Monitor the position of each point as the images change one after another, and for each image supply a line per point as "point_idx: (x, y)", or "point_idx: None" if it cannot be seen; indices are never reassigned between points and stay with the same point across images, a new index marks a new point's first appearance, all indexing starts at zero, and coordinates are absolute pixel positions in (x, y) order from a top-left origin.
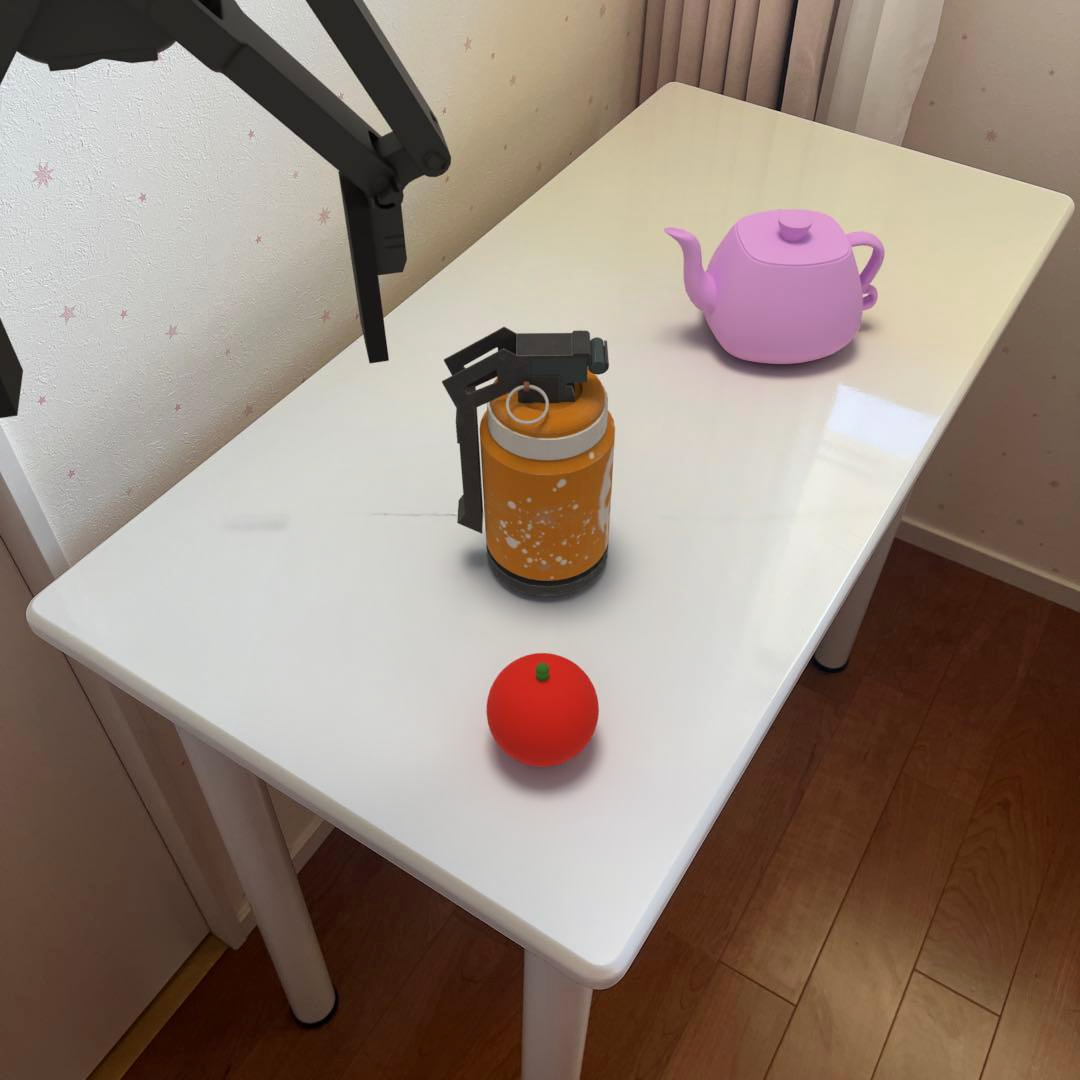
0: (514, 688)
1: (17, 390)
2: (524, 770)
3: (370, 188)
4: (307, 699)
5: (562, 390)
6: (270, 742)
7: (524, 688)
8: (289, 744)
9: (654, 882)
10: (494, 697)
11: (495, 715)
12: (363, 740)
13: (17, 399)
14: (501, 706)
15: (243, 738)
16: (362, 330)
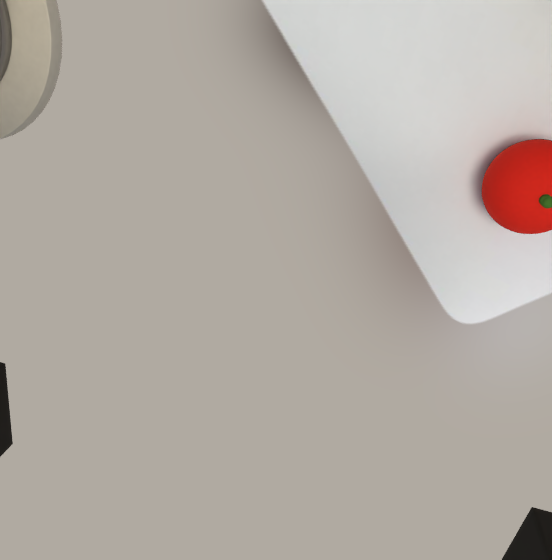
0: (516, 194)
1: (2, 418)
2: None
3: None
4: (365, 53)
5: None
6: (325, 84)
7: (523, 200)
8: (338, 93)
9: (520, 304)
10: (498, 181)
11: (490, 192)
12: (392, 114)
13: (6, 427)
14: (498, 195)
15: (307, 71)
16: (521, 531)
